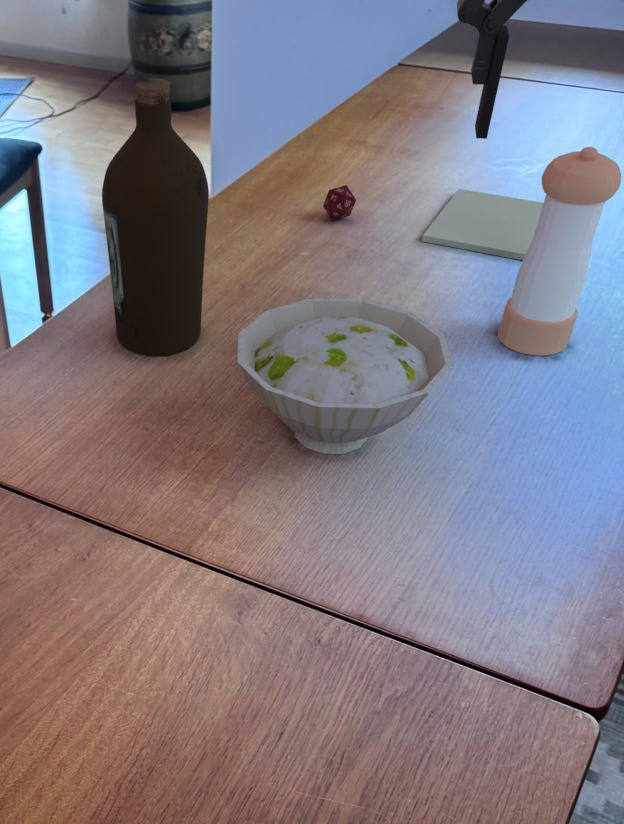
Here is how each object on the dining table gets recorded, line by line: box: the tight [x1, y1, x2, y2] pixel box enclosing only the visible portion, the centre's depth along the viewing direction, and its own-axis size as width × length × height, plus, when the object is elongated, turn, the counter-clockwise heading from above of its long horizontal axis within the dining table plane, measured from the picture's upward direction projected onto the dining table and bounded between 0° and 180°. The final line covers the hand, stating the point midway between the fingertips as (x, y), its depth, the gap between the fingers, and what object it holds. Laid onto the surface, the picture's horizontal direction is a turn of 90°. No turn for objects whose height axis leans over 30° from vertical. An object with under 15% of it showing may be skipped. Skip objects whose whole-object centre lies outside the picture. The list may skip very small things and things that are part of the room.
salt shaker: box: [497, 146, 622, 356], centre depth 91 cm, size 7×7×19 cm
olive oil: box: [101, 77, 210, 357], centre depth 92 cm, size 11×11×25 cm
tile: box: [421, 188, 544, 261], centre depth 116 cm, size 16×16×1 cm
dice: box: [322, 184, 357, 222], centre depth 119 cm, size 4×4×4 cm
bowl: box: [237, 297, 454, 455], centre depth 84 cm, size 19×19×10 cm
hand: (575, 135), depth 67 cm, fingers open, 13 cm apart
